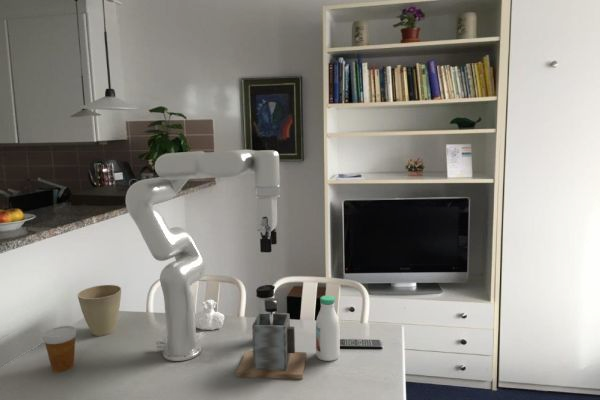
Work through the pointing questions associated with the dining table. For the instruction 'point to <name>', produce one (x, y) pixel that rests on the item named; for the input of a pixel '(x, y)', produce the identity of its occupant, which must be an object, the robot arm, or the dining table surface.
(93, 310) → the plant pot
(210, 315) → the bust
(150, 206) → the robot arm
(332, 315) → the milk bottle
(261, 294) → the travel mug
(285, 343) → the stand
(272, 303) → the knob on square base
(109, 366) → the dining table surface
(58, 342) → the disposable coffee cup
